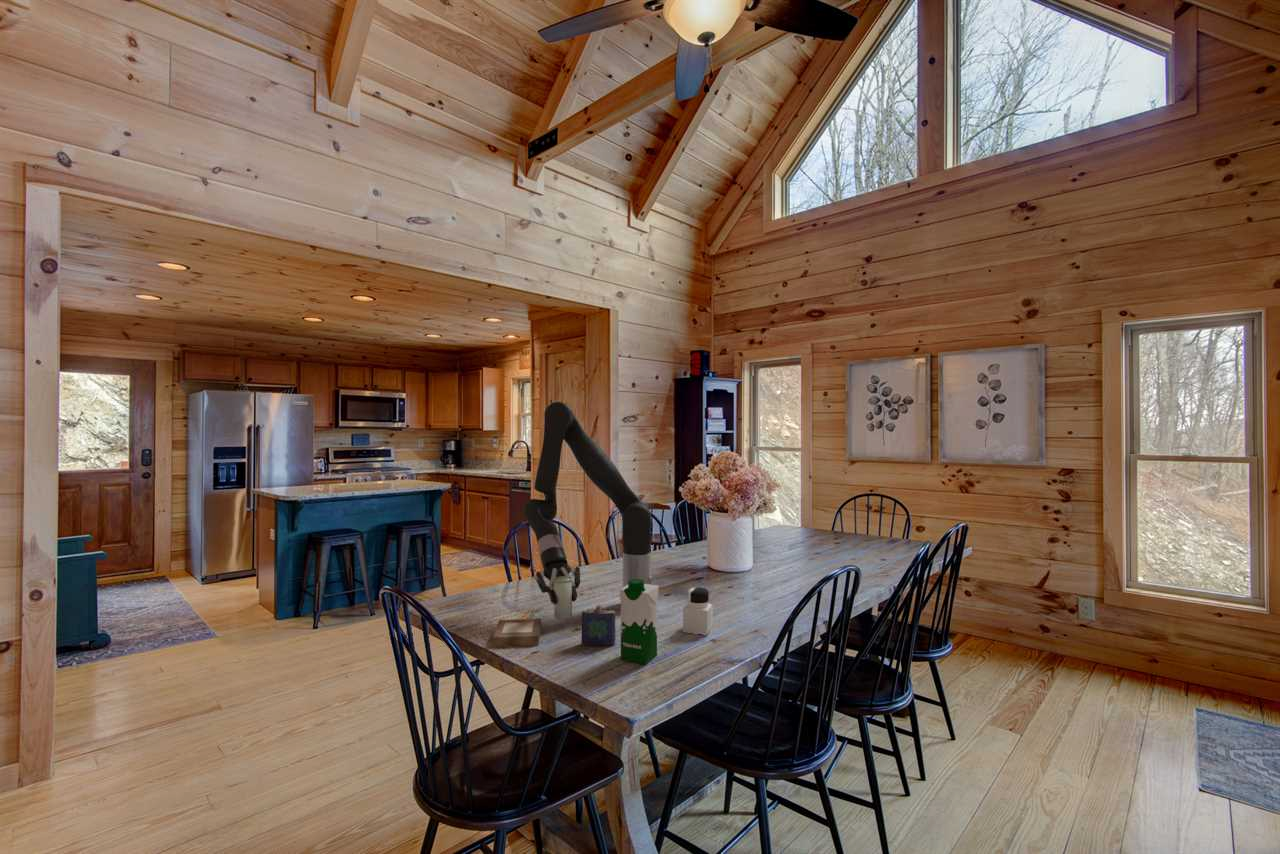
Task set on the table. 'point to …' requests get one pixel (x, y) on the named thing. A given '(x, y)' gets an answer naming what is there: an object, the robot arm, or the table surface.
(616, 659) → the table surface
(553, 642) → the table surface
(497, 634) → the pedestal
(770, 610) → the table surface
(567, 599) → the canister
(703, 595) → the medicine bottle
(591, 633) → the flask
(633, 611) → the milk carton
